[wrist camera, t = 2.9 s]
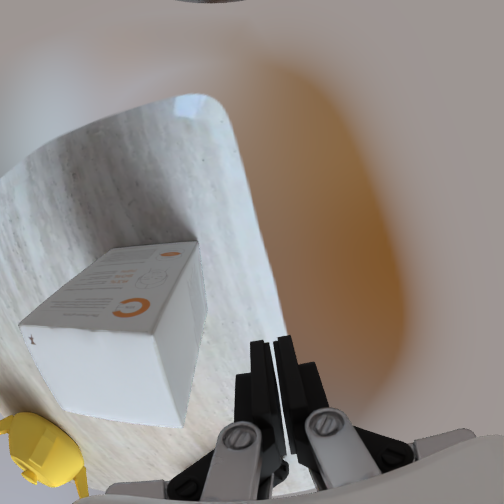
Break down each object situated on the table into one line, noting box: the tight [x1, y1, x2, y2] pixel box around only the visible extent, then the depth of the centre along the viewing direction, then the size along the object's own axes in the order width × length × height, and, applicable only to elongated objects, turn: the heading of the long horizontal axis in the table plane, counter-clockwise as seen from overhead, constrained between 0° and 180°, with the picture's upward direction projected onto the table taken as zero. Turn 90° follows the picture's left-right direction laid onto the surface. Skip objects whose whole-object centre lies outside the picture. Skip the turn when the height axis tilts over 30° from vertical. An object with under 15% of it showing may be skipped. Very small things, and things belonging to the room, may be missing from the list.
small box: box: [18, 241, 208, 428], centre depth 17 cm, size 8×6×13 cm
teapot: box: [0, 412, 89, 499], centre depth 27 cm, size 17×17×12 cm
